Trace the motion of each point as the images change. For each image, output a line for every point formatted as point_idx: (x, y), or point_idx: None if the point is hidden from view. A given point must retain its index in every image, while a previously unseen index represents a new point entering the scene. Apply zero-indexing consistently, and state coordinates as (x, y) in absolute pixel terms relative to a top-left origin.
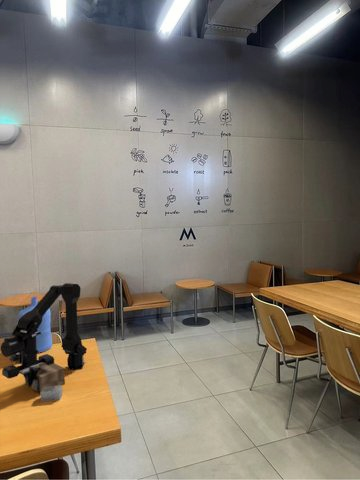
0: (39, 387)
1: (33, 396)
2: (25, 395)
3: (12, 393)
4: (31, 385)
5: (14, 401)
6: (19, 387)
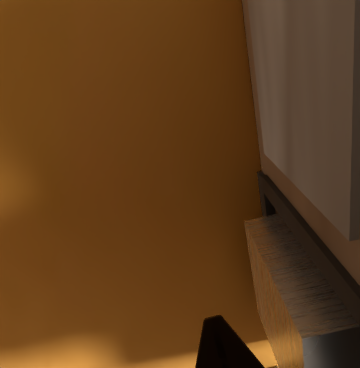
0: None
1: None
2: (149, 279)
3: (13, 146)
4: (254, 251)
5: (36, 322)
6: (122, 14)
